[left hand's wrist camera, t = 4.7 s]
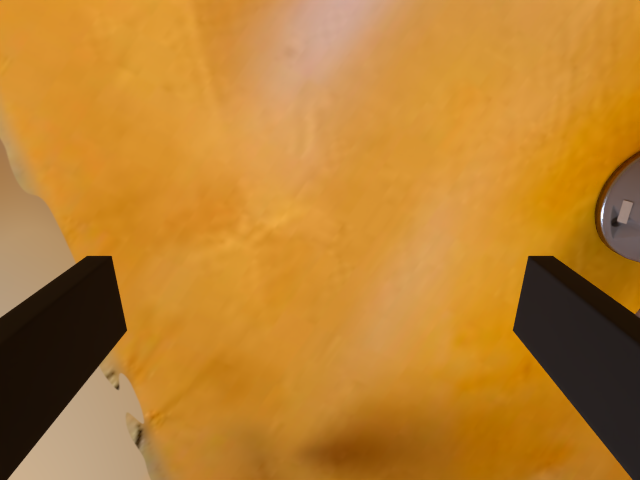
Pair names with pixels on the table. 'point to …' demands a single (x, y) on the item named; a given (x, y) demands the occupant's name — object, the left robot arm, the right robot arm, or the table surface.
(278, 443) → the table surface
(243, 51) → the table surface
